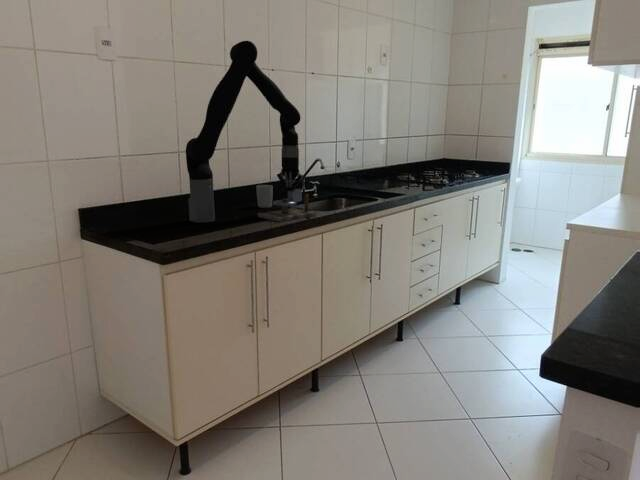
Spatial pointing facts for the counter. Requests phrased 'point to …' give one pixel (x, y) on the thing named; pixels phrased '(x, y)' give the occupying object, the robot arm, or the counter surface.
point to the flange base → (288, 213)
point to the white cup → (264, 195)
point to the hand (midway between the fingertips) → (290, 195)
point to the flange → (290, 198)
